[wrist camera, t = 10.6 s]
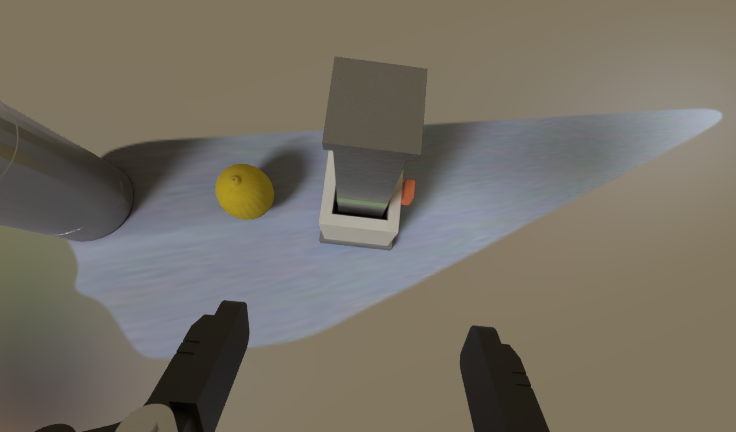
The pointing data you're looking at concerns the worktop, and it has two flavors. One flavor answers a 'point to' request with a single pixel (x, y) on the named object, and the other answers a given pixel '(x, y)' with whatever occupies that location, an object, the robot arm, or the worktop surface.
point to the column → (372, 130)
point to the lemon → (244, 191)
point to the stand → (359, 228)
